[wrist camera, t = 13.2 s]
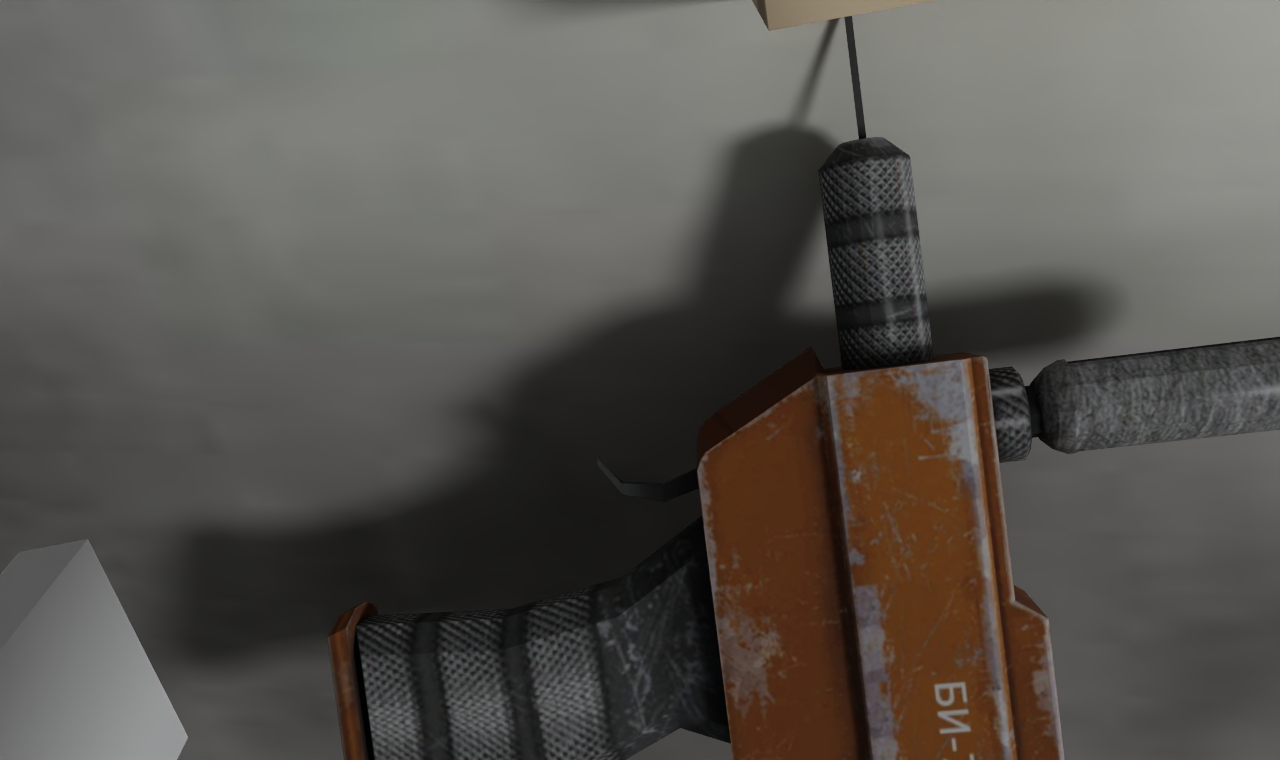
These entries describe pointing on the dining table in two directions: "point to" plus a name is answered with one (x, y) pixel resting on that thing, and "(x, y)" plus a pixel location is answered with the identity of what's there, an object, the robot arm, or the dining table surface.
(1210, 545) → the dining table surface
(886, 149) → the tool
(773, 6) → the bore block
